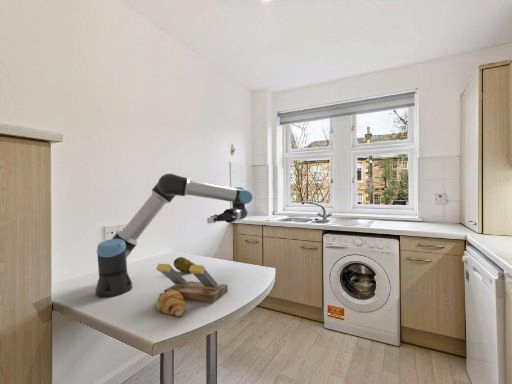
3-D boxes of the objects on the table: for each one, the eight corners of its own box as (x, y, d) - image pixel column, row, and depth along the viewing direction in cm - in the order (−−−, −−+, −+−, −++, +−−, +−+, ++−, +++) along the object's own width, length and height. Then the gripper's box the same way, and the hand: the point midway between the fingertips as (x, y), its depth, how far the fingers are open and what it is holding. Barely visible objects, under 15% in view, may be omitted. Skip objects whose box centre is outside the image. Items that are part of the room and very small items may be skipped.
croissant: (190, 325, 94) (198, 302, 96) (164, 321, 88) (174, 297, 90) (168, 305, 111) (176, 286, 113) (145, 301, 105) (154, 281, 107)
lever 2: (206, 283, 112) (190, 264, 102) (219, 284, 110) (204, 265, 100) (204, 288, 111) (187, 270, 101) (218, 289, 108) (201, 271, 98)
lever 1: (176, 280, 118) (157, 263, 108) (188, 281, 116) (170, 264, 106) (174, 285, 117) (155, 268, 107) (186, 286, 115) (167, 269, 104)
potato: (185, 276, 139) (184, 261, 139) (171, 272, 147) (170, 258, 147) (198, 271, 146) (197, 257, 146) (184, 268, 154) (183, 254, 154)
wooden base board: (182, 286, 123) (182, 279, 123) (227, 291, 114) (227, 284, 114) (164, 297, 112) (164, 289, 112) (213, 303, 103) (212, 294, 103)
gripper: (242, 221, 145) (220, 228, 123) (221, 221, 150) (197, 228, 128) (241, 208, 145) (220, 212, 123) (221, 208, 150) (196, 213, 128)
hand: (208, 220), depth 126 cm, fingers closed
